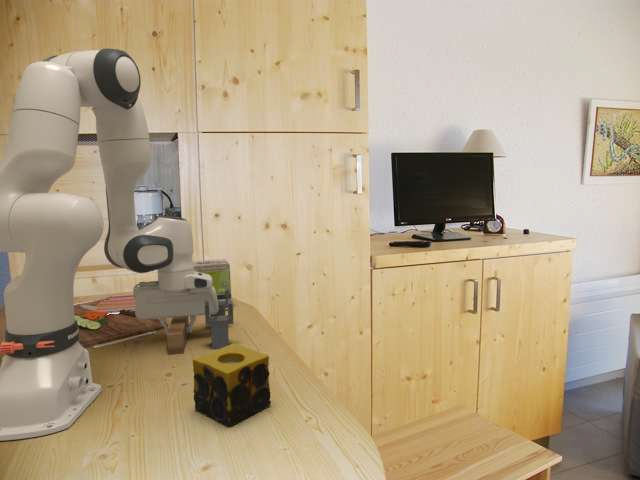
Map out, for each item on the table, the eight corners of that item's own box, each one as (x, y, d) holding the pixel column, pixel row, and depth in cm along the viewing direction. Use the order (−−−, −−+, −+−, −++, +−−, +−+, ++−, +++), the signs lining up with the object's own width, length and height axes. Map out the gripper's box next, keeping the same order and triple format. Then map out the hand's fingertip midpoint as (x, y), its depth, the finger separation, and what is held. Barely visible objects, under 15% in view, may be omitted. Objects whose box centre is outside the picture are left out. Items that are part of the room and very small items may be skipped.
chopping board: (21, 316, 147) (20, 306, 146) (111, 299, 165) (111, 291, 165) (70, 356, 115) (69, 344, 114) (175, 330, 133) (174, 319, 133)
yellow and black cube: (236, 390, 95) (234, 342, 94) (272, 406, 89) (271, 354, 88) (192, 410, 88) (190, 357, 86) (229, 429, 81) (227, 372, 80)
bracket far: (230, 329, 132) (229, 290, 131) (205, 331, 131) (204, 291, 129) (229, 324, 136) (228, 286, 134) (205, 326, 134) (204, 288, 133)
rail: (183, 354, 115) (182, 333, 114) (168, 355, 114) (167, 334, 113) (188, 327, 134) (188, 310, 134) (175, 328, 134) (174, 310, 133)
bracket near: (234, 347, 119) (232, 303, 117) (206, 349, 117) (204, 305, 116) (233, 341, 123) (231, 299, 121) (206, 344, 121) (204, 301, 119)
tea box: (227, 302, 160) (226, 257, 158) (232, 310, 150) (230, 263, 148) (180, 306, 155) (178, 260, 153) (181, 315, 146) (179, 266, 144)
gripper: (130, 285, 116) (134, 340, 118) (217, 280, 121) (219, 333, 123) (134, 279, 123) (137, 332, 124) (217, 275, 127) (218, 326, 129)
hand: (179, 333), depth 124 cm, fingers open, 4 cm apart
